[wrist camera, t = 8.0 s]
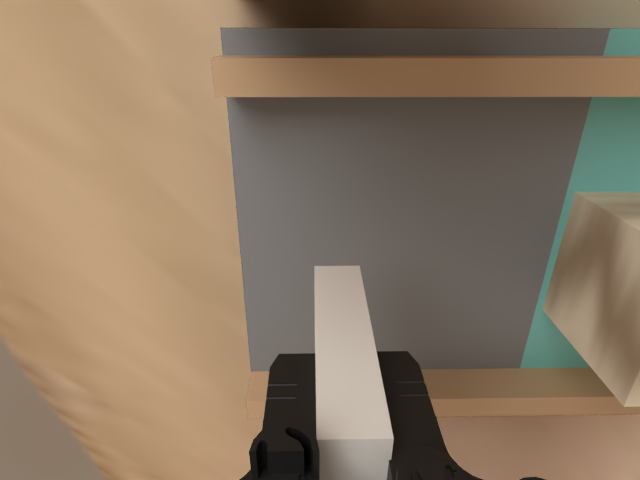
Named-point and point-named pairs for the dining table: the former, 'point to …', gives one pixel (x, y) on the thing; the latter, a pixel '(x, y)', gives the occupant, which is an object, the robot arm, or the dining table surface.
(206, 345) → the dining table surface
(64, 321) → the dining table surface
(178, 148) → the dining table surface
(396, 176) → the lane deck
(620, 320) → the maple block
